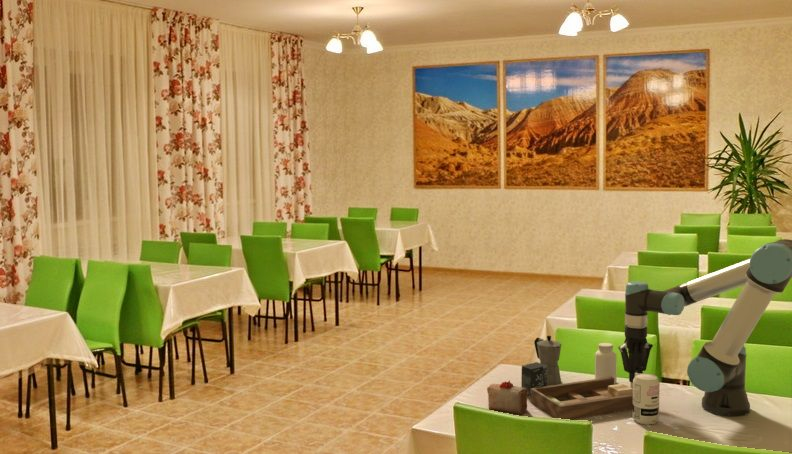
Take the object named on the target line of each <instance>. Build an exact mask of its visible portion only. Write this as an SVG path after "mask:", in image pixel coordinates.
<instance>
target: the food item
mask: <svg viewBox="0 0 792 454" xmlns="http://www.w3.org/2000/svg"><path fill="white" fill-rule="evenodd" d="M486 391H487V398H488V409H489V410H492V409H493V410H494V411H501V412H506V413H507V412H508V413H513V414H519V415H523V414H525V413H526V412H527V410H528V395H527V389H526V388H522V387H520V386H516V385H514V384H513V383H511V380H510V379H509V380H508V381H503V382H502V383H500V384H499V383H491V384H490V385H489V386H488V387H486ZM493 410H492V411H493Z"/></svg>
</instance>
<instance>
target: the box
mask: <svg viewBox="0 0 792 454" xmlns="http://www.w3.org/2000/svg"><path fill="white" fill-rule="evenodd" d="M544 386H548V385H547V365H544V364H541V363H540V362H537V361H536V362H532V363H527V364H522V365H521V387H522V388H526V389H527V397H528V396H529V397H531V388H537V387H544Z"/></svg>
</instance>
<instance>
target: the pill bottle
mask: <svg viewBox="0 0 792 454" xmlns="http://www.w3.org/2000/svg"><path fill="white" fill-rule="evenodd" d="M597 348H598V350H597V351H596V352H595V354H594V379H600V378H607V377H613V378H614V385H616V384H617V376H618V375H617V373H618V372H617V371H618V369H617V365H618V363H617V361H618V360H617V357H618V355H617V353H616V352H615V351H614V345H613V343H610V342H601V343H598V347H597Z"/></svg>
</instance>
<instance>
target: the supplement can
mask: <svg viewBox="0 0 792 454" xmlns="http://www.w3.org/2000/svg"><path fill="white" fill-rule="evenodd" d="M660 383H661V382H660V380H659V378H658V375H655V374H653V373H644V372H643V373H641V374H636V375H635V378H634V379H633V410H632V419H633V420H634V422H636V423H638V424H641V425H645V426H649V424H652V425H656V424H657V423H658V422H659V421H660ZM656 422H657V423H656Z"/></svg>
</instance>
